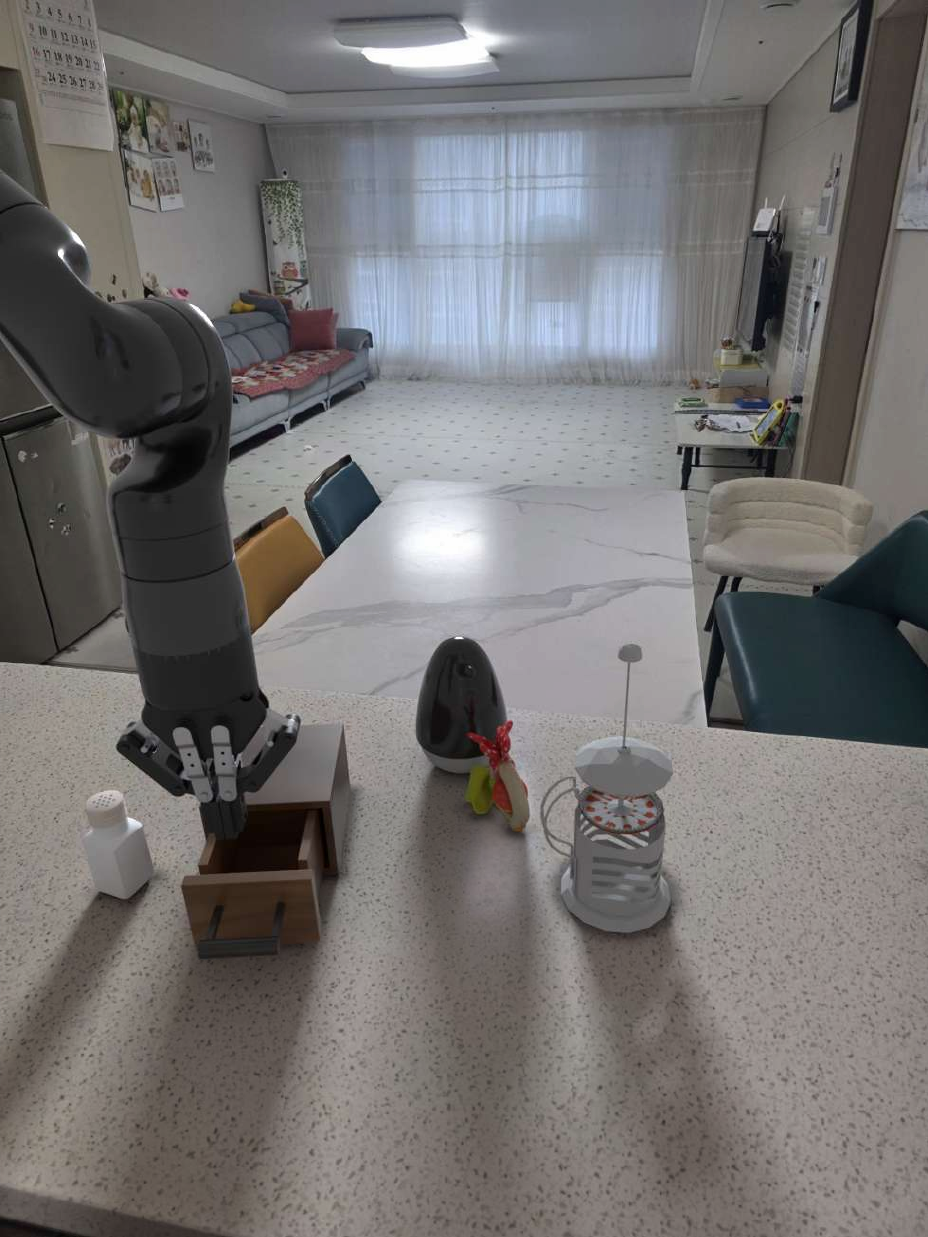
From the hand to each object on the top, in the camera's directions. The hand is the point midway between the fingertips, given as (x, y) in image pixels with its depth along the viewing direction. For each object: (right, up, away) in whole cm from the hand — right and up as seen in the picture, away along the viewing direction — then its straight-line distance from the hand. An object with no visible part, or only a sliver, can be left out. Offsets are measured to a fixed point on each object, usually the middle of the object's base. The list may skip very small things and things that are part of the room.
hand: (228, 832), depth 62 cm
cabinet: (0, -5, +21) cm, 21 cm away
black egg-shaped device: (+18, 0, +31) cm, 36 cm away
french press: (+30, -9, +12) cm, 34 cm away
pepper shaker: (-14, -9, +15) cm, 22 cm away
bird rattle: (+22, -4, +22) cm, 31 cm away
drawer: (0, -10, +10) cm, 14 cm away
